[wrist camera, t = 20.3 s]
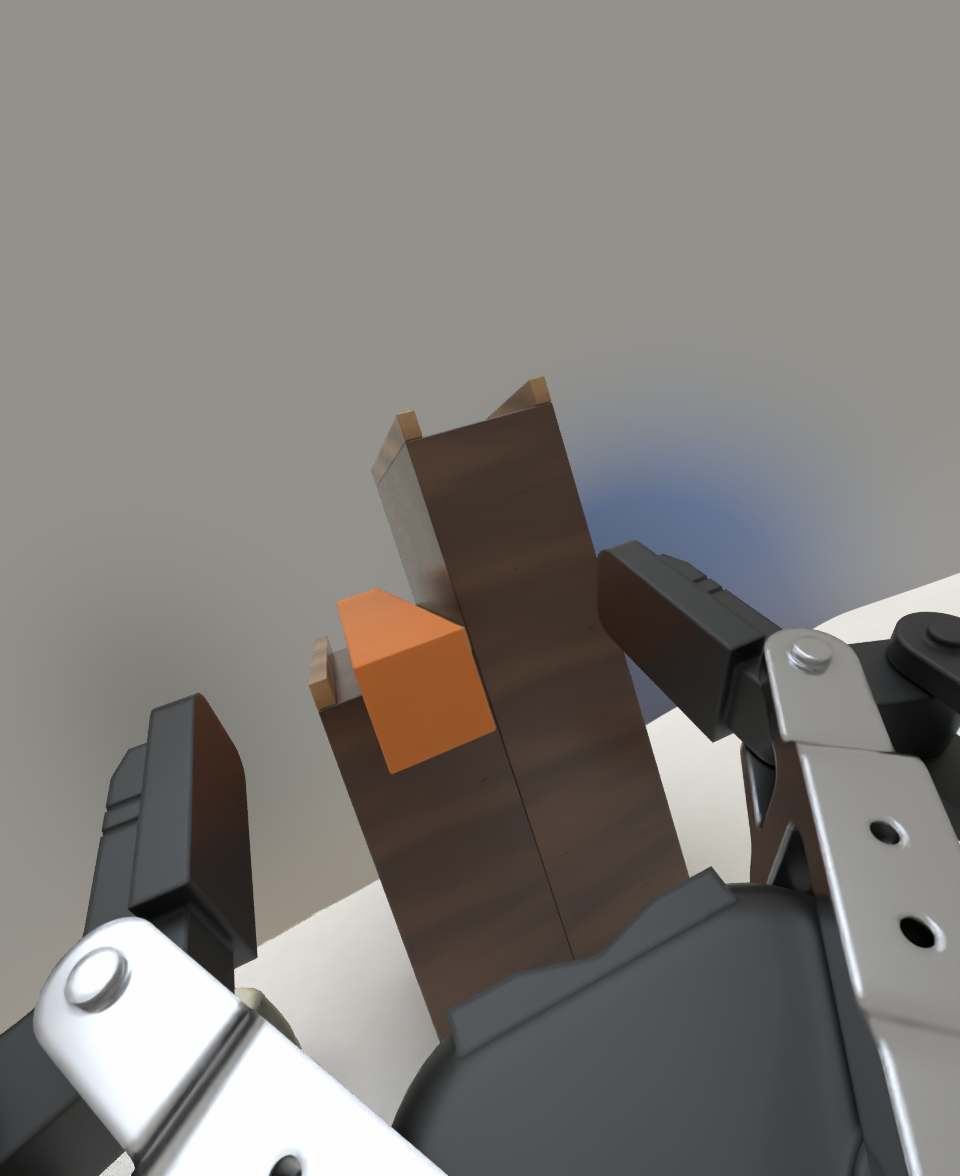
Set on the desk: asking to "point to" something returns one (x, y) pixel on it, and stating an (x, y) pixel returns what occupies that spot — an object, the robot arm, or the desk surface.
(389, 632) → the orange block
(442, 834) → the display stand
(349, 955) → the desk surface
